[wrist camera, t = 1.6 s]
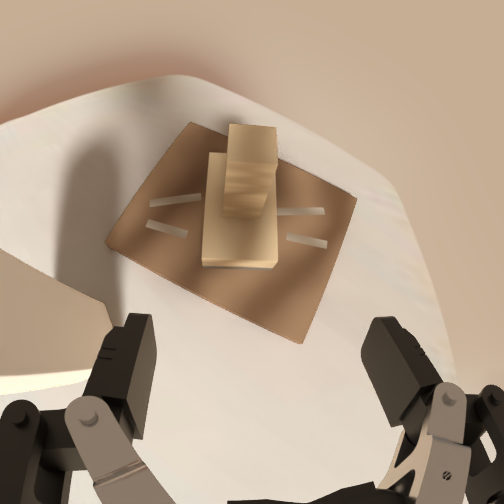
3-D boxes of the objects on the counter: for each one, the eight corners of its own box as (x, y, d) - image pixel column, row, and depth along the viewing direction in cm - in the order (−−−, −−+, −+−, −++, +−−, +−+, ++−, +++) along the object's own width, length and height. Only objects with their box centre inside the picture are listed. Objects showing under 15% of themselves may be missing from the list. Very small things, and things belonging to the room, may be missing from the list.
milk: (105, 303, 25) (-80, 183, 5) (128, 365, 24) (-77, 375, 3) (54, 324, 24) (-139, 252, 3) (74, 384, 22) (-128, 400, 2)
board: (108, 246, 27) (104, 242, 26) (190, 128, 32) (190, 122, 31) (298, 343, 26) (302, 343, 25) (352, 203, 32) (357, 198, 31)
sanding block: (202, 267, 26) (196, 213, 16) (209, 170, 29) (210, 87, 19) (271, 270, 27) (306, 219, 17) (269, 173, 30) (294, 95, 20)
